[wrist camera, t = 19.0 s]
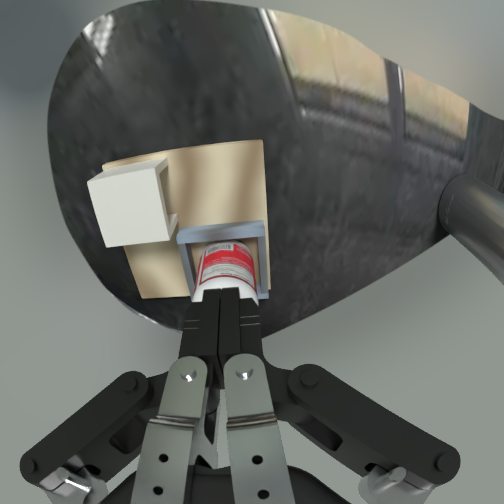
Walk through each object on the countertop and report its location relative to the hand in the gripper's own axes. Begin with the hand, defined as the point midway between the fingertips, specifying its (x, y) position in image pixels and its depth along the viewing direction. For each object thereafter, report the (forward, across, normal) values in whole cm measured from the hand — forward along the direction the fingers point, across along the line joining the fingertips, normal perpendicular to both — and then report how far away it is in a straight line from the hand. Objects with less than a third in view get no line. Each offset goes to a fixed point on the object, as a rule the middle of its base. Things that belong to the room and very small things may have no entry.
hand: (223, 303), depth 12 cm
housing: (+18, +10, 0) cm, 20 cm away
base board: (+19, +5, +5) cm, 20 cm away
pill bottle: (+18, +1, +9) cm, 20 cm away
